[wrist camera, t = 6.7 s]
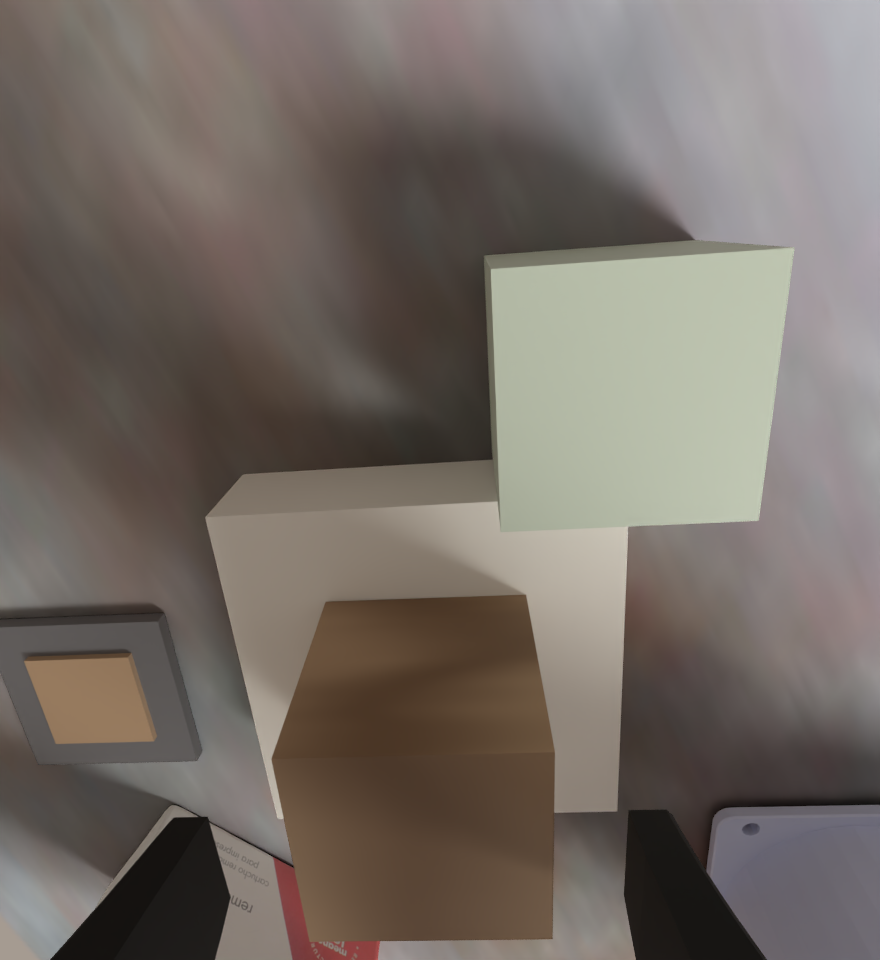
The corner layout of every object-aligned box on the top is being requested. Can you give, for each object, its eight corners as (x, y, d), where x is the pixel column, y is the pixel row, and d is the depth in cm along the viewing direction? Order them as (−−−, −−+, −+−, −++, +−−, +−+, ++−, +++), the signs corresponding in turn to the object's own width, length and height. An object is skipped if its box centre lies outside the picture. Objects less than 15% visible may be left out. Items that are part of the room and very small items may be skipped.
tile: (164, 613, 18) (154, 625, 17) (202, 750, 19) (194, 766, 19) (-8, 619, 18) (-23, 632, 17) (46, 754, 20) (34, 769, 19)
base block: (600, 446, 16) (629, 494, 13) (595, 726, 19) (617, 811, 16) (249, 467, 16) (205, 517, 14) (304, 735, 20) (277, 818, 17)
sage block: (693, 240, 14) (794, 247, 9) (679, 439, 15) (758, 520, 11) (483, 255, 14) (490, 268, 10) (491, 449, 16) (500, 532, 11)
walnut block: (526, 594, 14) (555, 752, 10) (527, 749, 16) (552, 939, 12) (325, 601, 14) (271, 758, 10) (348, 753, 16) (309, 942, 12)
